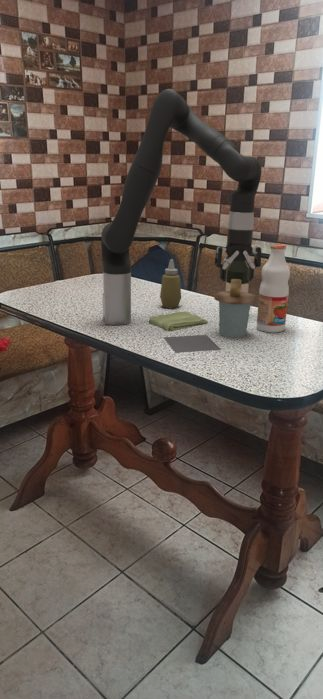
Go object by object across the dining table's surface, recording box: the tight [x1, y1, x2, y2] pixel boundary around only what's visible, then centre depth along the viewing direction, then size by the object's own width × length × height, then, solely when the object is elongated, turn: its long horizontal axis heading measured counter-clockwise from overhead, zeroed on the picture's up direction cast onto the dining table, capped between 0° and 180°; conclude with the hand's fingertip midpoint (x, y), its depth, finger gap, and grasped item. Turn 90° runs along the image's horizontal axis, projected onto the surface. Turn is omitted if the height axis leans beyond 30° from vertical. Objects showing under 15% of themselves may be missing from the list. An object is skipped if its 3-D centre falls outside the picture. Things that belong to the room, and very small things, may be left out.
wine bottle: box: [225, 261, 250, 293], centre depth 185 cm, size 8×8×30 cm
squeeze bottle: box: [159, 258, 182, 309], centre depth 197 cm, size 8×8×18 cm
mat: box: [163, 334, 222, 354], centre depth 159 cm, size 14×14×1 cm
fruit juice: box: [256, 243, 291, 334], centre depth 171 cm, size 9×9×28 cm
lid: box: [213, 279, 257, 304], centre depth 164 cm, size 13×13×6 cm
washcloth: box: [148, 310, 209, 332], centre depth 179 cm, size 13×18×3 cm
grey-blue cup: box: [218, 301, 252, 339], centre depth 167 cm, size 10×10×12 cm
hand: (236, 280), depth 163 cm, fingers open, 8 cm apart
